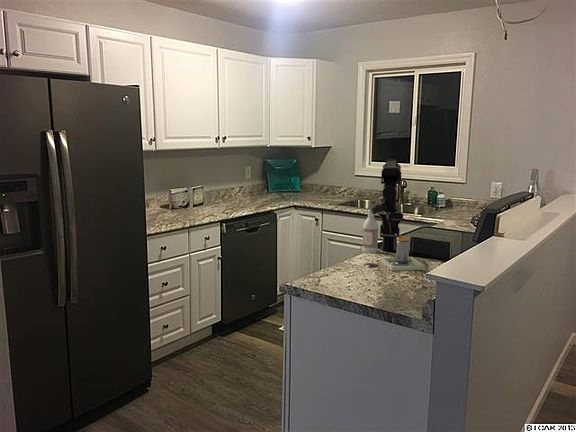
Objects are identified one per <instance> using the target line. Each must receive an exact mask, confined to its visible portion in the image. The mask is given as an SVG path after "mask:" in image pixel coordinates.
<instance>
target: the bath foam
mask: <svg viewBox="0 0 576 432" xmlns="http://www.w3.org/2000/svg"><path fill="white" fill-rule="evenodd" d="M362 226H363V227H362V251H363V253H368V254H374V253H378V243H379V241H378V240H379V224H378V221H377V220H376V218H375V214H373V213H371V211H370V209H367V218H366V220H365V221H364V222H363V225H362Z"/></svg>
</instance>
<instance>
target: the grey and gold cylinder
mask: <svg viewBox="0 0 576 432" xmlns="http://www.w3.org/2000/svg"><path fill="white" fill-rule="evenodd" d="M395 241H396V250H395V251H396V253H395V254H396V255H395V257H396V261H394V266H410V261H408V258H409V257H410V256H409V255H410V254H409V253H410V241H411V237H410V236H408V235H399V236H397V237H396V238H395Z"/></svg>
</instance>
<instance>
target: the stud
mask: <svg viewBox="0 0 576 432" xmlns="http://www.w3.org/2000/svg"><path fill="white" fill-rule="evenodd" d="M363 267H365V268H370V269H372V268H373V269H374V268H375V269H376V268H378V267H379V264H377V263H372V262H371V263H370V262H368V263H364V264H363Z"/></svg>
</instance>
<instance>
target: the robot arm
mask: <svg viewBox="0 0 576 432" xmlns="http://www.w3.org/2000/svg"><path fill="white" fill-rule="evenodd" d="M385 161H386V162H385V163H384V164H383V165H382V169H381V178H380V179H381V180H380V184H381V185H382V184H383V190H382V198H381V199H380V202H376V203H374V204H371V205H369V206H368V208H369V210H370V211H371V213H373V214H374V215H378V217H380V218H381V224H380V227H379V237H380V238H382V246H380V247H379V248H380V250H383V251H384V252H387V251H389V252H390V251H393V252H394V251H396V249H397V247H395V246H396V245H395V244H396V237H397V236H400V234H401V232H400V231H401V229H400V226H399V225H400V224H401V222H402V220H404V214H403V212H400V211H399V210H398V208H397V203H398V202H399V199H398V198H397V197H398V185H400V183H402V172H401V171H402V170H401V169H402V166H401V165H400V164H399V163H398V160H397V159H387V160H385Z"/></svg>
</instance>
